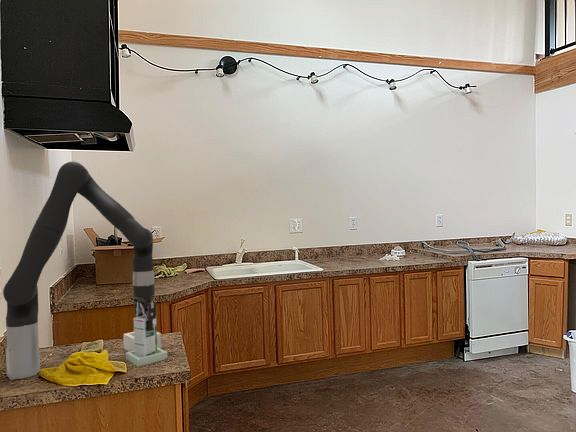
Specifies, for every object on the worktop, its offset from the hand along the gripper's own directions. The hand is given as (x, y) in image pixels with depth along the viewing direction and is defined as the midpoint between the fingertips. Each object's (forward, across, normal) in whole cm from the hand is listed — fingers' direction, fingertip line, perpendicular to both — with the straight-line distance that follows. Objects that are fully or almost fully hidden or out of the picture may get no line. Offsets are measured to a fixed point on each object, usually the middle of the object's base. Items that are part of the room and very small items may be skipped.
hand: (145, 328), depth 162 cm
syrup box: (+10, 0, 0) cm, 10 cm away
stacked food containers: (+11, -13, +4) cm, 18 cm away
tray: (+11, 0, 0) cm, 11 cm away
